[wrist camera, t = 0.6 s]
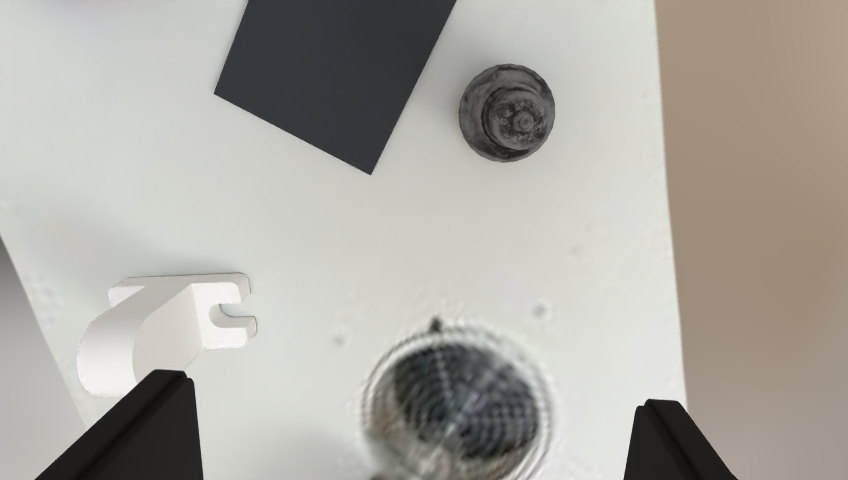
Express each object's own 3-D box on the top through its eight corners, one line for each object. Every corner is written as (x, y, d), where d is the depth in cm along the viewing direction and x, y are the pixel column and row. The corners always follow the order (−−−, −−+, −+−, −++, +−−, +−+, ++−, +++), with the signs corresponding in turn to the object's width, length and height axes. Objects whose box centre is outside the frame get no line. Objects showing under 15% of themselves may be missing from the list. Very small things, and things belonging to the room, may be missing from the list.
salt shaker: (505, 46, 34) (533, 24, 22) (563, 113, 35) (618, 125, 23) (439, 110, 35) (434, 120, 24) (497, 173, 36) (518, 212, 25)
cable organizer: (122, 277, 40) (18, 337, 30) (247, 272, 39) (181, 332, 30) (137, 339, 41) (42, 415, 32) (257, 335, 41) (198, 411, 31)
